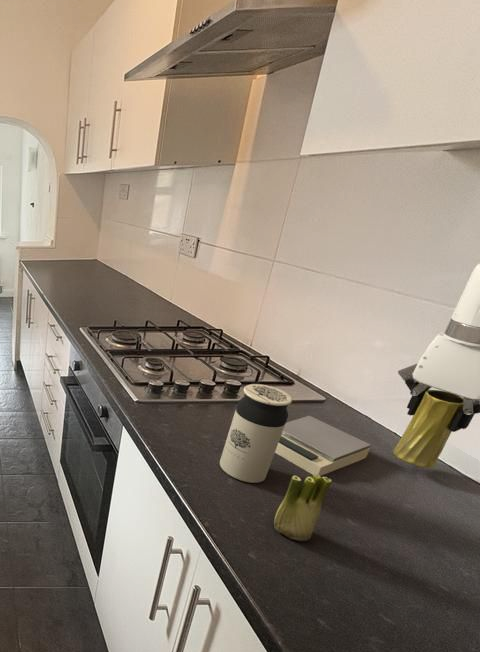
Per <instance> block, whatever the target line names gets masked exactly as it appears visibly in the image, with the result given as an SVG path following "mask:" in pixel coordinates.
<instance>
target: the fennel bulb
mask: <svg viewBox="0 0 480 652" xmlns="http://www.w3.org/2000/svg"><path fill="white" fill-rule="evenodd" d="M332 483H333V480H332V479H331V478H328V477H327V476H319V475H316V474H313V475H312V476H307V477H306V478H305V479H304V481H303V482H302V479H301V478H300V477H299V476H297V475H292V476H291V478H290V482H289V484H288V488H287V489H286V493H285V495H284V498H283V500H282V502H280V504H279V506H278V508H277V510H276V512H275V515H274V518H273V519H274V520H273V528H274V529H275V530H276V531H277V532H278V533H280V534H282V535H283V536H285V537H287V538H288V539H290V540H293V541H296V542H306V541H309V540H310V539H311V538H312V535H313V533H314V530H315V528H316V525H317V523H318V521H319V517H320V514H321V511H322V510H321V509H322V504H323V500H324V497H325V494H326V493H327V491H328V490H329V488H330V486H331V485H332Z"/></svg>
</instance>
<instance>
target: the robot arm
mask: <svg viewBox="0 0 480 652" xmlns="http://www.w3.org/2000/svg"><path fill="white" fill-rule="evenodd" d="M397 374H398V375H399V376H400V377H401V379H402V380H403V381H404V384H405V385H406V386H407V388H408V390H409V394H410V399H409V402H408V404H407V406H406V409H408V411H407V413H406V414H407V415H408V416H411V417H413V416H414V414H415V412H416V410H417V408H418V406H419V404H420V403H421V401H422V399H423V397H424V395H425V392H426V391H427V390H431V389H432V388H433V389H435V390H440V391H445V392H448V393H451V394H455V395H458V396H460V397H462V398H463V409H462V411H460V412H458V413H457V414H456V416H455V418H454V420H453V422H452V424H451V426H450V428H449V430H450V431H452V432H451V433H455V432H458V431H460V430H465V429H467V428H468V427H469V425H470V424H471V422H472V420H473V418H474V416H475V415H476V414H480V263H478V264H477V265H476V266H475V267H474V268H473V270H472V272H471V274H470V277H469V279H468V281H467V282H466V285H465V287H464V289H463V291H462V294H461V295H460V298H459V300H458V302H457V304H456V306H455V308H454V311H453V313H452V315H451V317H450V319H449V321H448V324H447V325H446V327H445V330H444V331H441V332H439V333H438V334H437V335H436V336H435V338H433V340H432V341H431V342H430V343H429V345H428V346H427V348H426V350H425V351H424V352H423V354H422V356H421V357H420V359H419V361H418V362H417V363H415V364H412V365H409V366H407V367H405V368H401V369H399V370H398V371H397Z"/></svg>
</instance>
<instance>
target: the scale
mask: <svg viewBox="0 0 480 652" xmlns="http://www.w3.org/2000/svg"><path fill="white" fill-rule="evenodd" d="M370 450H371V447H370V448H368V449H365V450H363V451H360V452H357V453H355V454H352V455H349V456H347V457H344V458H342V459H339V460H336V461H334V462H333V461H331V460H329V459H327V458H325V457H324V456H322V455H320V454H318V453H316V452H314V451H312V450H311V449H309V448H307V447H305V446H303V445H301V444H299V443H298V442H296V441H294V440H292V439H290V438H288V437H286V436H284V435H283V434H281V437H280V440H279V443H278V445H277V448H276V451H275V453H274V454H276V455H278V456H280V457H281V458H283V459H285V460H287V461H288V462H290V463H291V464H294V465H295V466H297V467H299V469H302V470H304V471H306V472H307V473H309V474H311V475H312V476H313V474H316V475H319V476H321V477H323V476H324V475H327V474H329V473H332V472H334V471H337V470H339V469H342V468H345V467H346V466H350V465H352V464H355V463H357V462H360V461H362V460H364V459H366V458H367V456H368V455H369V453H370Z"/></svg>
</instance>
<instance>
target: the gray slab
mask: <svg viewBox="0 0 480 652" xmlns="http://www.w3.org/2000/svg"><path fill="white" fill-rule="evenodd" d="M282 434H283V435H284V436H286V437H288V438H290V439H292V440H294V441H296V442H298V443H299V444H301V445H303V446H305V447H307V448H309V449H311V450H312V451H314V452H316V453H318V454H320V455H322V456H324V457H325V458H327V459H329V460H331V461H333V462H334V461H336V460H339V459H342V458H344V457H347V456H349V455H352V454H355V453H357V452H360V451H363V450H365V449H368V448H370V449H371V444H370V443H368V442H366V441H364V440H362V439H360V438H357V437H356V436H353V435H351V434H349V433H347V432H345V431H343V430H341V429H338V428H337V427H335V426H333V425H330V424H329V423H325V422H324V421H321V420H320V419H317V418H315V417H313V416H311V415H306V416H304V417H299V418H297V419H294V420H290V421H288V422H287V421H286V424H285V426H284V429H283V432H282Z"/></svg>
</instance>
